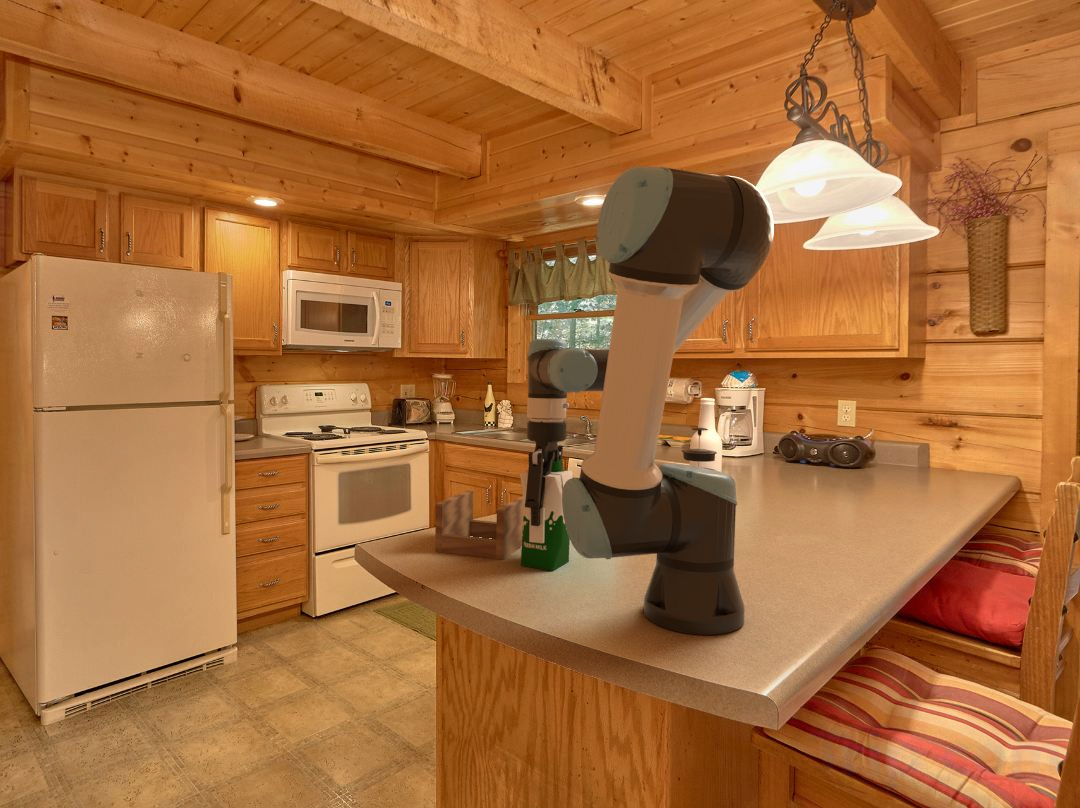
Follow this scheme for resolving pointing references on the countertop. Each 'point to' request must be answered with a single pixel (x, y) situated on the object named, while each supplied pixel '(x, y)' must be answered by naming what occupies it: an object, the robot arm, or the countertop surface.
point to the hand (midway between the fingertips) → (545, 535)
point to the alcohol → (707, 436)
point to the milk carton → (547, 524)
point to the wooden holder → (477, 528)
